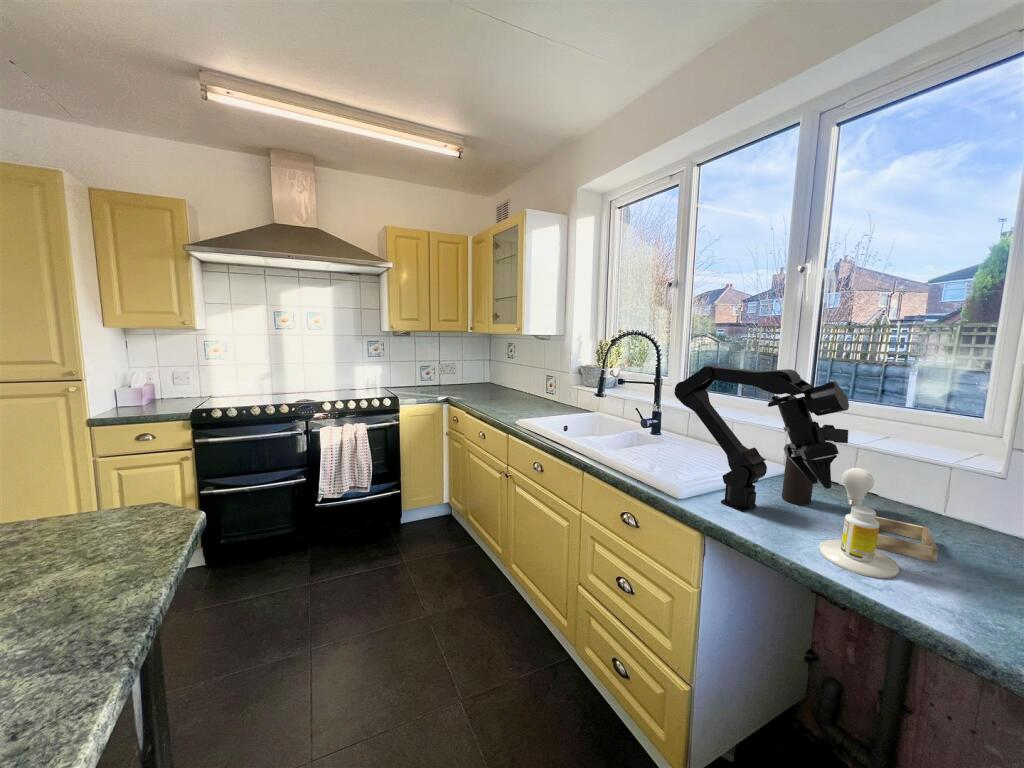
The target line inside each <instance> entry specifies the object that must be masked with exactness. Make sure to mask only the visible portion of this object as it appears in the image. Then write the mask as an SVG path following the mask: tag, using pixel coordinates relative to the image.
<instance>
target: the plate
mask: <svg viewBox="0 0 1024 768" xmlns="http://www.w3.org/2000/svg"><path fill="white" fill-rule="evenodd" d="M841 542H842V539H827V540H823V541H821V542H820V544H819V547H818V551H819V553H820V554H822V555H823V556H824V557H825V560H827V561H828V560H829V561H828V562H830V563H831V562H832V564H833V563H834V565H835V566H838V567H839V568H840V569H844V570H846V571H848V572H851V573H855V574H857V575H861V576H865V577H869V576H870V578H875V577H878V578H877V579H890V578H894V577H897V576H898V575H899V572H900V566H899V564H898V563H897V561H896V560H895V559H894V558H892V557H891V556H889V555H888V554H886V553H884V552H882V551H880V550H878V549H876V551H875V557H874V559H873V560H872V561H869V562H865V561H859V560H855V559H852V558H850V557H848V556H846V555H845V554H844V553H843V552H842V551H841ZM822 555H821V556H822ZM823 556H822V557H823ZM824 557H823V558H824Z"/></svg>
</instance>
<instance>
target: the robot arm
mask: <svg viewBox="0 0 1024 768" xmlns="http://www.w3.org/2000/svg"><path fill="white" fill-rule="evenodd" d="M715 381H717V382H724V383H731V384H740V385H743V386H745V385H746V386H753V387H754V388H758V389H760V390H761V391H764V392H767V393H770V394H773V395H772V397H771V399H770V401H769V402H768V403H767V407H768V408H770V407H771V408H772V407H775V406H777V407H778V410H779V413H780V416H781V418H782V419H781V420H782V421H783V424H784V426H783V428H782V429H783V431H784V432H786V433H787V436H788V438H789V441H790V442H789V443H786V444H785V446H783V451H784V454H785V457H786V456H790V457H788V458H789V459H790V460H791V461H792V462H793V463H794V464H795V465H796V466H797V467H798V468H799V469H800V471H801V472H802V473H803V474H804V475H805V476H806V477H807V478H808V479H809V481H810V482H811V483H812V484H813V485H815V484H818V482H819V483H820V484H821V485H822V487H823V488H824V489H826V490H828V489H832V473H831V466H832V465H831V464H832V463H833V461H834V460H835V459H836V458H837V457H838V455H839V454H840V452H839V450H838V447H837V445H836V444H835V443H837V444H838V443H839V444H849V429H844V428H836V427H835V426H834V425H833V424H823V425H822V426H820V424H819V422H817V421H816V420H815V421H814V420H813V418H812V415H811V414H814V415H815V416H817V417H820V416H825V415H830V414H835V413H841V412H846V411H848V410H849V407H850V403H849V399H848V395H847V394H846V393H845V392H844V391H843V389H842V388H841V387H840V386H839V385H838V382H837V381H836V380H834V381H829V382H827V383H824V384H821V385H818V386H813V385H812V384H811V383H809V382H807V381H805V380H804V379H803V378H801V375H800V374H799V373H798V372H797V371H796V370H794V369H787V368H786V369H772V370H771V369H770V370H754V369H745V368H737V367H729V366H719V365H716V364H712V365H711V364H710V365H704V366H703V367H702V368H700V369H699V370H698V371H697V372H695V373H694V374H692V375H691V376H689V377H687V378H686V379H685V380H684V381H679V382H678V383H677V384H676V385H675V387H674V391H673V393H674V396H675V397H676V399H677V400H678V401H680V403H681V404H682V405H683V406H685V407H686V408H688V409H690V410H691V411H692V412H694V413H695V414H696V416H698V417H697V418H698V419H700V421H701V422H702V423H703V425H704V427H705V428H706V429H707V430H708V431H709V434H711V436H712V437H713V438H714V440H715V441H716V442H717V444H718V445H719V447H720V448H721V449H722V451H723V452H724V453H725V455H726V459H727V464H728V467H729V469H730V471H728V472H726V473H725V474H723V475H722V477H721V478H722V480H723V484H725V491H724V498H723V499H721V500H720V503H721V504H723V505H726V506H728V507H730V508H734V509H736V510H738V511H740V512H747V511H748V510H751V509H754V508H757V504H756V502H757V501H756V499H757V492H756V485H754V484H755V483H758V481H759V480H760V479H761V478H763V477H765V476H766V474H767V471H768V466H767V463H765V461H766V459H765V458H764V457H763V456H761V454H760V452H759V450H758V449H757V448H756V447H752V448H748V447H747V446H745V445H743V443H742V442H741V441H740V440H739V438H738V437H737V436H736V435H735V433H734V432H733V431H732V428H730V427H729V426H728V424H727V423H726V422H725V420H724V419H723V418H722V416H721V415H720V414H719V412H718V411H717V410H716V409H715V407H714V406H713V405H712V404H711V402H710V396H709V393H708V391H707V390H708V389H709V388H710V387H712V385H713V384H714V382H715ZM784 394H787V395H786V396H781V397H780V396H778V395H784ZM801 394H803V395H804V396H800V397H796V396H797V395H801ZM833 442H834V443H833ZM791 455H792V456H791Z"/></svg>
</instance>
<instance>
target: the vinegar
mask: <svg viewBox="0 0 1024 768" xmlns="http://www.w3.org/2000/svg"><path fill="white" fill-rule="evenodd" d="M791 456H792V455H791ZM788 457H790V456H786V455H785V464H784V465H785V466H784V471H783V472H784V473H783V483H782V489H781V490H782V491H781V498H782V499H783V500H784V501H786V502H787V503H789V504H793V505H798V506H807V505H810V504H811V503H812V495H813V489H814V484H812V483H811V482H810V481H809V479H808V478H807V477H806V476H805V475H804V474H803V473H802V472H801V471H800V469H799V468H798V467H797V466H796V465H795V464H794V463H793V462H792V461H791V460H790V459H789V458H788Z"/></svg>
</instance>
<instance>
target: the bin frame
mask: <svg viewBox="0 0 1024 768" xmlns="http://www.w3.org/2000/svg"><path fill="white" fill-rule="evenodd" d="M875 520H876V521H878V523H879V532H883V533H889V534H893V535H896V536H897V535H899V536H902V537H907V538H911V539H916V540H919V541H921V543H919V542H914V541H911V540H905V539H902V538H898V537H893V536H888V535H884V534H882V533H878V538H877V545H876V549H880V550H883V551H888V552H892V553H895V554H900V555H904V556H908V557H911V558H915V559H920V560H923V561H927V562H931V563H935V564H936V563H937V560H938V559H937V558H938V553H939V548H938V546H937V544H936V542H935V540H934V538H933V535H932V534H931V532H930V530H929V528H928V527H927V526H923V525H918V524H914V523H908V522H904V521H899V520H895V519H889V518H885V517H880V516H877V515H876V518H875Z"/></svg>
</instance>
